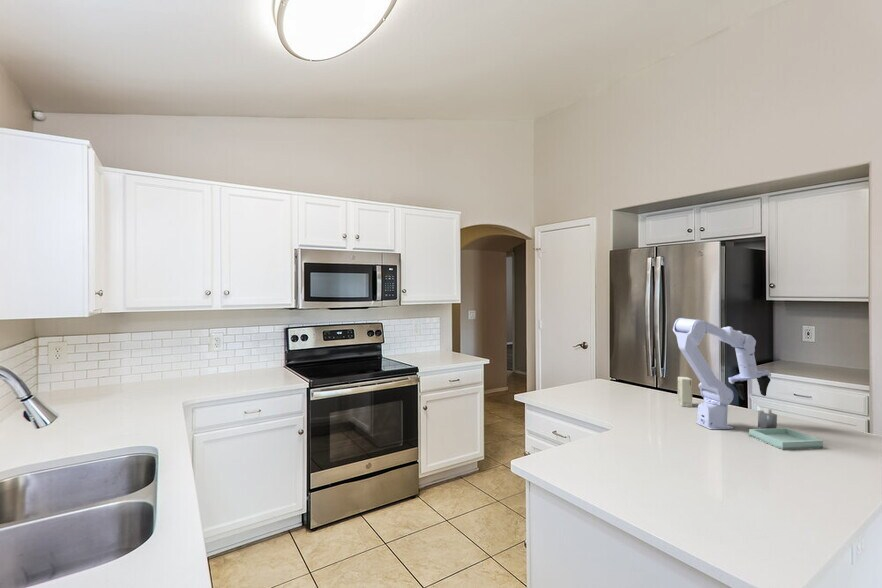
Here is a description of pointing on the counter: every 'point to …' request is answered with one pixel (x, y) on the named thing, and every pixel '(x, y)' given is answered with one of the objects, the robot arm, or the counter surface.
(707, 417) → the robot arm
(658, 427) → the counter surface
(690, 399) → the skincare box
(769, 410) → the grey rounded piece
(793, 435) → the sage tray
